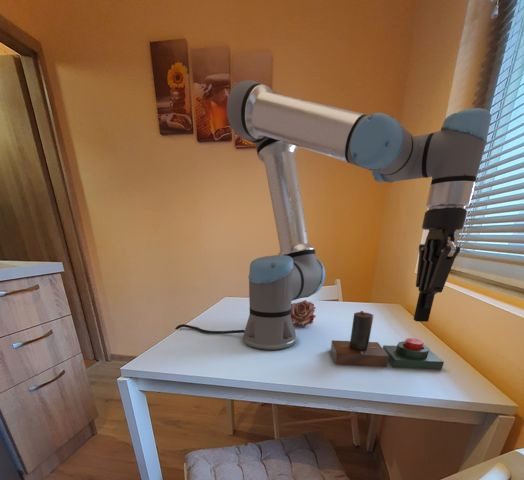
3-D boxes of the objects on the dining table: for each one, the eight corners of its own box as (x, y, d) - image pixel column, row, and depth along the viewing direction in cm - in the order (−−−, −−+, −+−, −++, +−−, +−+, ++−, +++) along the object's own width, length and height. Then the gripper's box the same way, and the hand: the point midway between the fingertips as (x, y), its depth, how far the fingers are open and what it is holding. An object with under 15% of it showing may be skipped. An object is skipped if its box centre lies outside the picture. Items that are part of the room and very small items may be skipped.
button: (407, 350, 67) (409, 343, 66) (401, 344, 70) (402, 337, 70) (424, 351, 66) (426, 344, 66) (417, 345, 70) (419, 338, 69)
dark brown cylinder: (369, 351, 67) (376, 316, 64) (351, 350, 68) (356, 315, 64) (365, 344, 71) (370, 311, 68) (347, 343, 72) (352, 310, 68)
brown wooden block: (335, 365, 67) (337, 353, 66) (330, 350, 75) (331, 339, 74) (386, 367, 66) (389, 355, 65) (375, 352, 74) (378, 341, 73)
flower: (288, 314, 101) (286, 300, 95) (313, 310, 100) (313, 295, 94) (292, 336, 96) (290, 322, 90) (318, 331, 95) (318, 317, 89)
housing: (393, 367, 66) (396, 352, 64) (381, 352, 74) (384, 338, 73) (441, 370, 65) (446, 354, 64) (424, 354, 73) (428, 340, 72)
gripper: (487, 205, 50) (452, 329, 59) (449, 211, 62) (424, 313, 71) (443, 205, 51) (415, 328, 60) (414, 211, 63) (394, 312, 72)
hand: (420, 320), depth 65 cm, fingers closed
